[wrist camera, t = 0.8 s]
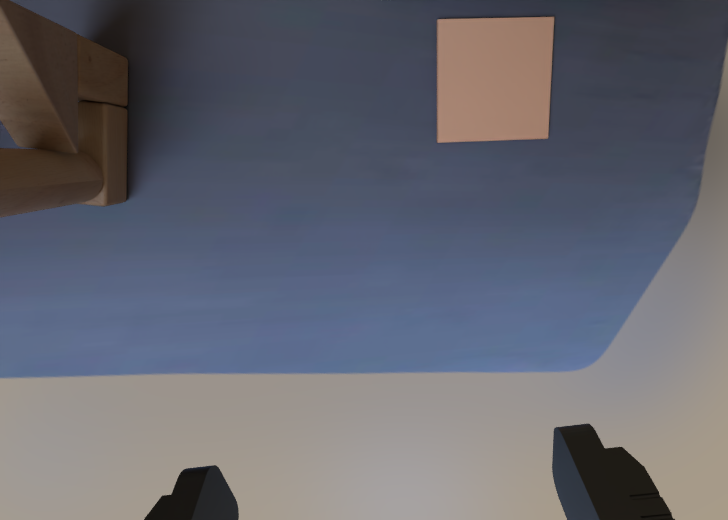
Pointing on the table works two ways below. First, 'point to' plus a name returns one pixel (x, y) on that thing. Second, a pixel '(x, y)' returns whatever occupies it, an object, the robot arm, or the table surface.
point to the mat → (493, 78)
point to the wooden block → (59, 116)
